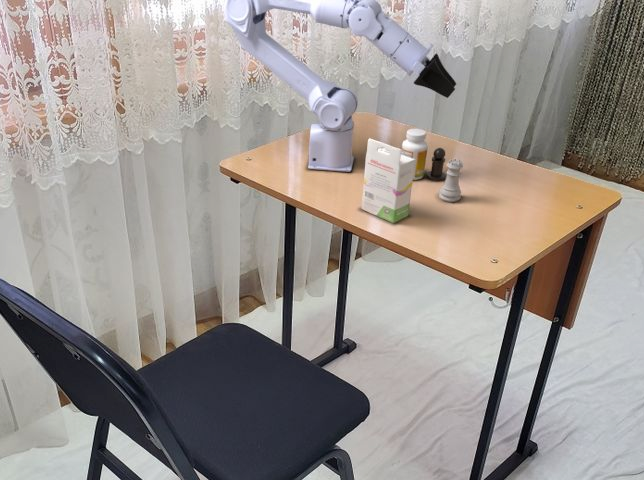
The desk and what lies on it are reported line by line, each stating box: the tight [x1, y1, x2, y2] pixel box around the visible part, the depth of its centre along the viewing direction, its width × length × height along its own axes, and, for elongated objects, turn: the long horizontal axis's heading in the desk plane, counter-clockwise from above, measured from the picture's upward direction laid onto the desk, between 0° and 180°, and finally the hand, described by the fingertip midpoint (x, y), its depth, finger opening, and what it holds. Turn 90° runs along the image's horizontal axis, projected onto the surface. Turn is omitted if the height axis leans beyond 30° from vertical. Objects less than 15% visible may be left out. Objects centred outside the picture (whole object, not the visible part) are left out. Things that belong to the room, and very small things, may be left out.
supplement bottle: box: [401, 128, 429, 181], centre depth 156 cm, size 5×5×10 cm
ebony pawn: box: [426, 147, 447, 182], centre depth 157 cm, size 4×4×7 cm
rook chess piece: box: [438, 158, 464, 203], centre depth 148 cm, size 4×4×8 cm
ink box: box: [361, 137, 415, 224], centre depth 141 cm, size 9×5×15 cm, turn 42°
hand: (452, 90), depth 146 cm, fingers open, 7 cm apart
